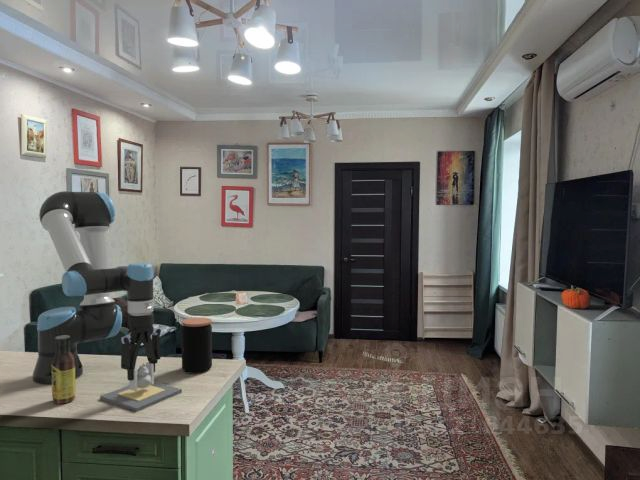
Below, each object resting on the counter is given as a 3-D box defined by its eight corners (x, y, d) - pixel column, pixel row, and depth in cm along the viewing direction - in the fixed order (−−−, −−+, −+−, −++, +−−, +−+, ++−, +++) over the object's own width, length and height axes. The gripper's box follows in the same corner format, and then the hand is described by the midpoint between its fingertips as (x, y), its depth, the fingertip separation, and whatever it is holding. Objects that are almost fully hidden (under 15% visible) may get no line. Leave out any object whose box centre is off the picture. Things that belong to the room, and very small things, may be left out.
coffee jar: (192, 363, 177) (191, 316, 176) (217, 365, 174) (217, 318, 173) (176, 372, 167) (175, 322, 166) (202, 375, 164) (202, 325, 163)
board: (100, 399, 142) (100, 395, 142) (146, 381, 157) (146, 378, 157) (136, 411, 134) (136, 407, 134) (181, 392, 148) (181, 388, 148)
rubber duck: (143, 391, 141) (143, 366, 141) (127, 388, 144) (126, 363, 144) (156, 385, 146) (155, 360, 146) (139, 383, 149) (139, 358, 149)
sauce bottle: (53, 398, 143) (51, 334, 141) (76, 395, 145) (75, 332, 144) (51, 406, 137) (49, 340, 135) (75, 403, 139) (73, 338, 138)
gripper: (122, 320, 134) (123, 399, 135) (172, 309, 150) (173, 379, 151) (106, 317, 138) (107, 393, 139) (156, 306, 154) (157, 375, 155)
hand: (141, 386), depth 145 cm, fingers closed on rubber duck, 5 cm apart
